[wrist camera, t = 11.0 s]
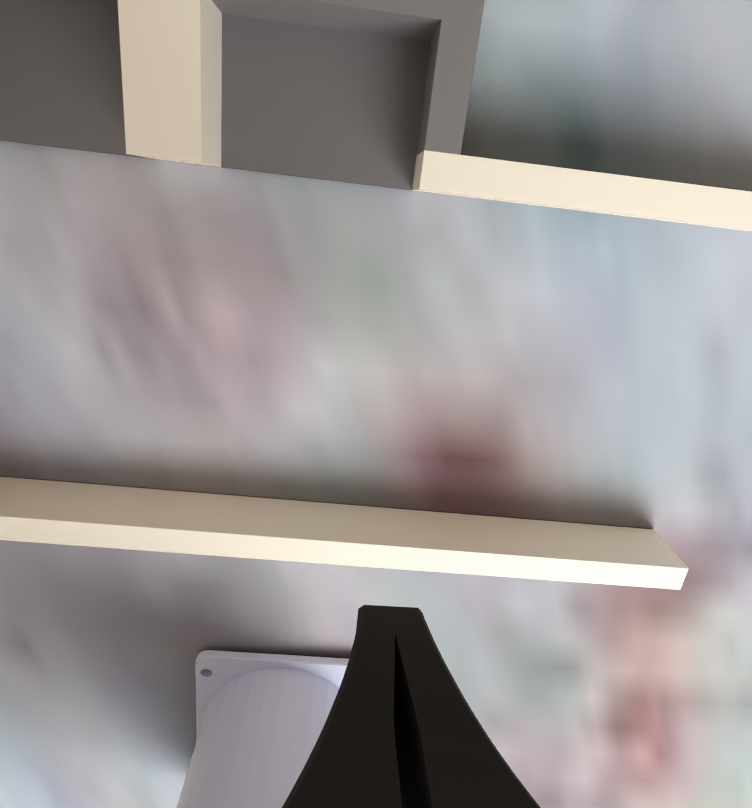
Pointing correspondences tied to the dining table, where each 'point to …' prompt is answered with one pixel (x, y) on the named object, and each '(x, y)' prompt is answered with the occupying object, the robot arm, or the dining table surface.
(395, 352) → the dining table surface
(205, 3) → the trap lane
